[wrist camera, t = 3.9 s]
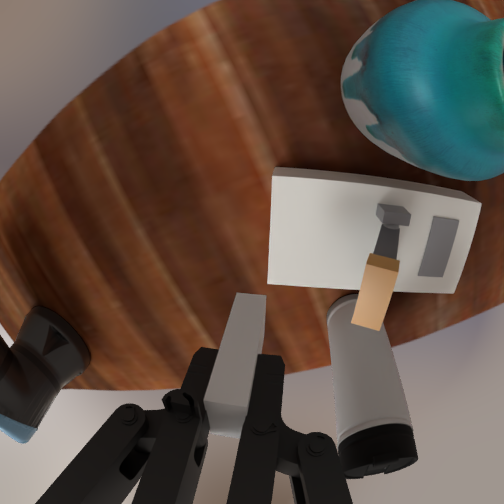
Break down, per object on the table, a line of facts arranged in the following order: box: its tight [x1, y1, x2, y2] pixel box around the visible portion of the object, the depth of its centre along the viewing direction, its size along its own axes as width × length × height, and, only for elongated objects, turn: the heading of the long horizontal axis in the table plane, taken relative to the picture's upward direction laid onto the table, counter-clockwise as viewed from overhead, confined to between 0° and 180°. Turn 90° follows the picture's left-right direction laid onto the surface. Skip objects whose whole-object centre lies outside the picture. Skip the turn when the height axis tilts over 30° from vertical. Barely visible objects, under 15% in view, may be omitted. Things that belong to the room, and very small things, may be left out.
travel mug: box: [327, 294, 418, 479], centre depth 23 cm, size 6×7×20 cm
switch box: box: [267, 167, 482, 293], centre depth 24 cm, size 20×10×6 cm, turn 89°
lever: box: [351, 224, 400, 331], centre depth 20 cm, size 2×4×9 cm, turn 179°
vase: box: [341, 0, 504, 181], centre depth 13 cm, size 11×11×19 cm
